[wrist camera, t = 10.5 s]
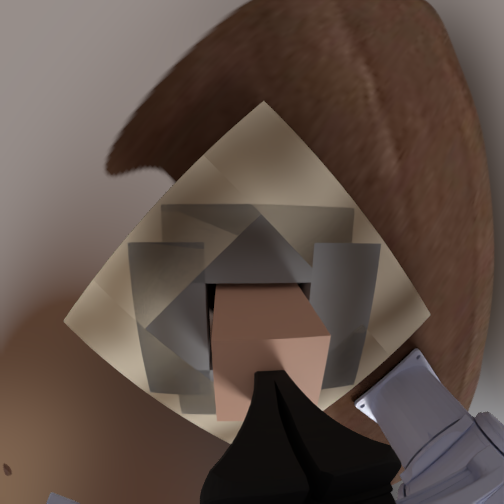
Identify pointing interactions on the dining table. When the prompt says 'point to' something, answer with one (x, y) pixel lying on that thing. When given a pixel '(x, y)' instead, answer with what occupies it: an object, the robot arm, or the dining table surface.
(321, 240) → the socket board
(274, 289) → the peg
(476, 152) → the dining table surface
